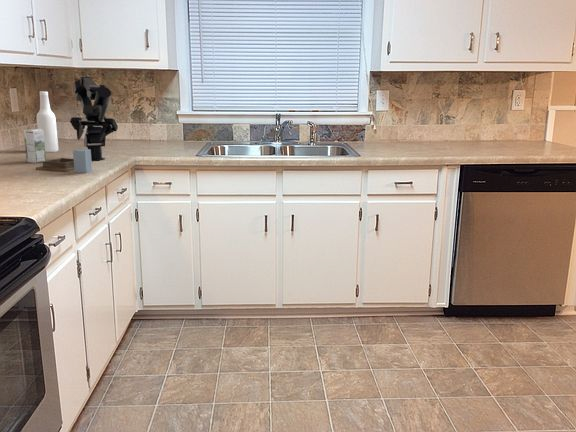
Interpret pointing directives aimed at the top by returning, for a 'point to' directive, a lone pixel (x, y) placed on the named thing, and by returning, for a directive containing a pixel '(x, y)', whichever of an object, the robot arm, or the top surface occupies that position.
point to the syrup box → (34, 145)
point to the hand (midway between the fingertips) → (88, 139)
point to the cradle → (58, 165)
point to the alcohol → (47, 123)
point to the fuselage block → (82, 160)
